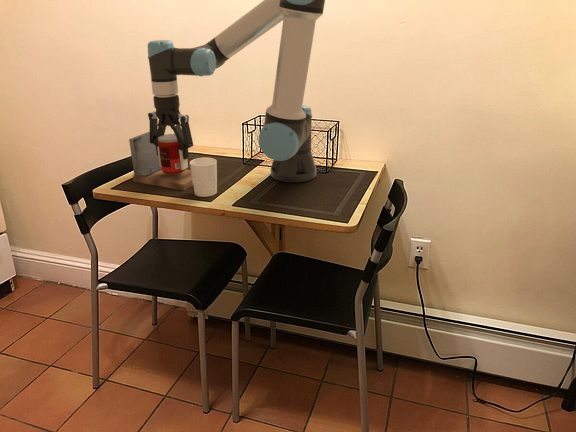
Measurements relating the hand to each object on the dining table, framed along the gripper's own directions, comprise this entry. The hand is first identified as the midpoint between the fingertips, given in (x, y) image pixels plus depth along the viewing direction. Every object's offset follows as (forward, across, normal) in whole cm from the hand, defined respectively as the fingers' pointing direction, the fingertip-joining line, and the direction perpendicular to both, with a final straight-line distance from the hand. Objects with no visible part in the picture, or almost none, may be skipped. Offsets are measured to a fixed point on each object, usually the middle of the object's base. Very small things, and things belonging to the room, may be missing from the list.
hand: (173, 166), depth 159 cm
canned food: (+1, 0, 0) cm, 1 cm away
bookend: (+3, +9, 0) cm, 10 cm away
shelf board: (+5, +2, 0) cm, 5 cm away
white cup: (+5, -15, +5) cm, 17 cm away
